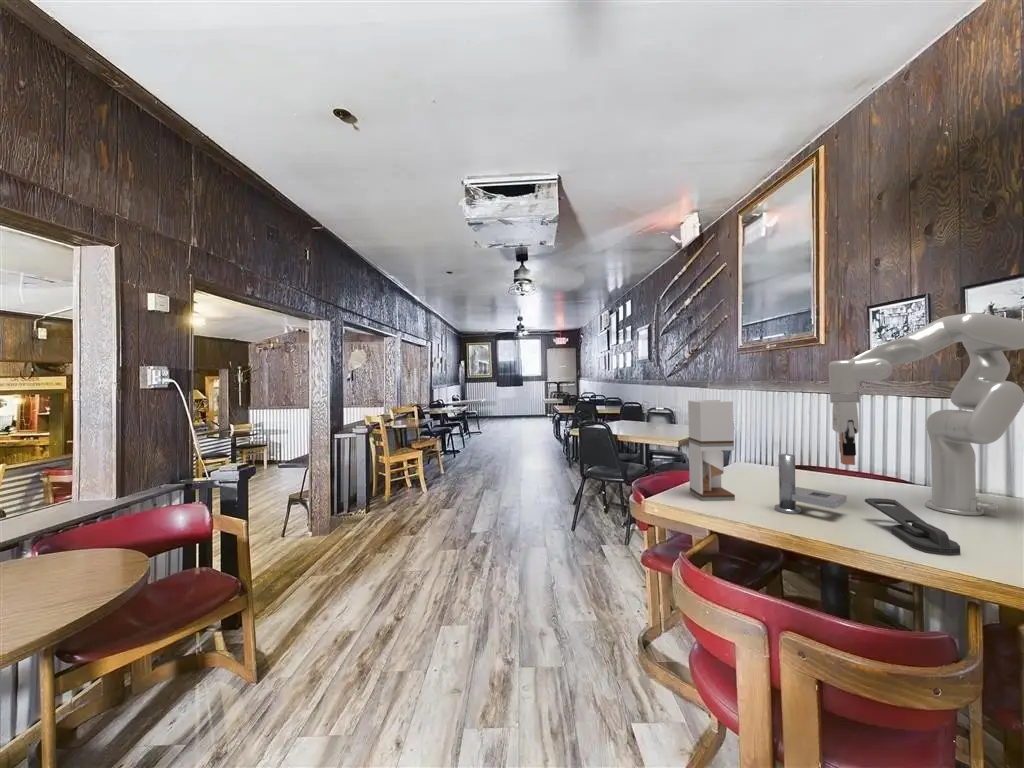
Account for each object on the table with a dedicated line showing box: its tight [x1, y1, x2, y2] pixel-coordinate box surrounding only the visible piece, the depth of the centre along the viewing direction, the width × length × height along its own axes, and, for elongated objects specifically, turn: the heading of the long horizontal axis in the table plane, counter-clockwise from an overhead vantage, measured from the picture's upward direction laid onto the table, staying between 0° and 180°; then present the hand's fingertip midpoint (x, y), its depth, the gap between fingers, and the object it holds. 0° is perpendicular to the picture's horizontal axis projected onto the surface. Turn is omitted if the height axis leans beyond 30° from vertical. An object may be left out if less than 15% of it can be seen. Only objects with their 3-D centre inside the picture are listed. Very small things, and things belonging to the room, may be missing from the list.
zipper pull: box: [864, 497, 961, 556], centre depth 109 cm, size 9×7×25 cm
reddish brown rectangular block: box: [839, 433, 856, 466], centre depth 132 cm, size 3×3×10 cm
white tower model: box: [687, 399, 736, 502], centre depth 148 cm, size 11×11×35 cm
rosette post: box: [774, 453, 848, 515], centre depth 129 cm, size 16×13×18 cm
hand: (847, 453), depth 132 cm, fingers closed on reddish brown rectangular block, 3 cm apart
